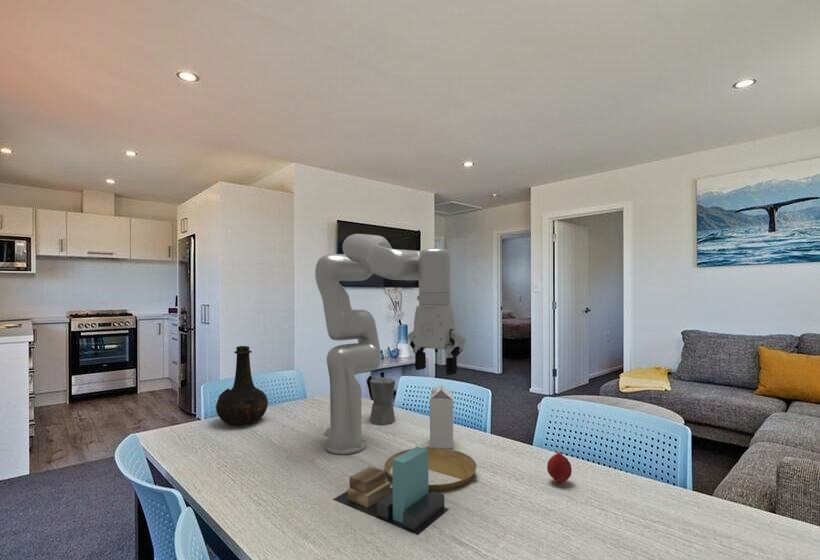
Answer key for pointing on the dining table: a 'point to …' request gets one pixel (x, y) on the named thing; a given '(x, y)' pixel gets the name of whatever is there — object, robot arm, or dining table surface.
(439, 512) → the rack
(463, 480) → the plant saucer
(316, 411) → the dining table surface
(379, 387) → the coffeepot
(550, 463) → the onion
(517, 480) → the dining table surface
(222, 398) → the glass bottle
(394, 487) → the teal board
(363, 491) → the offcut high
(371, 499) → the offcut low
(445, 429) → the milk carton
